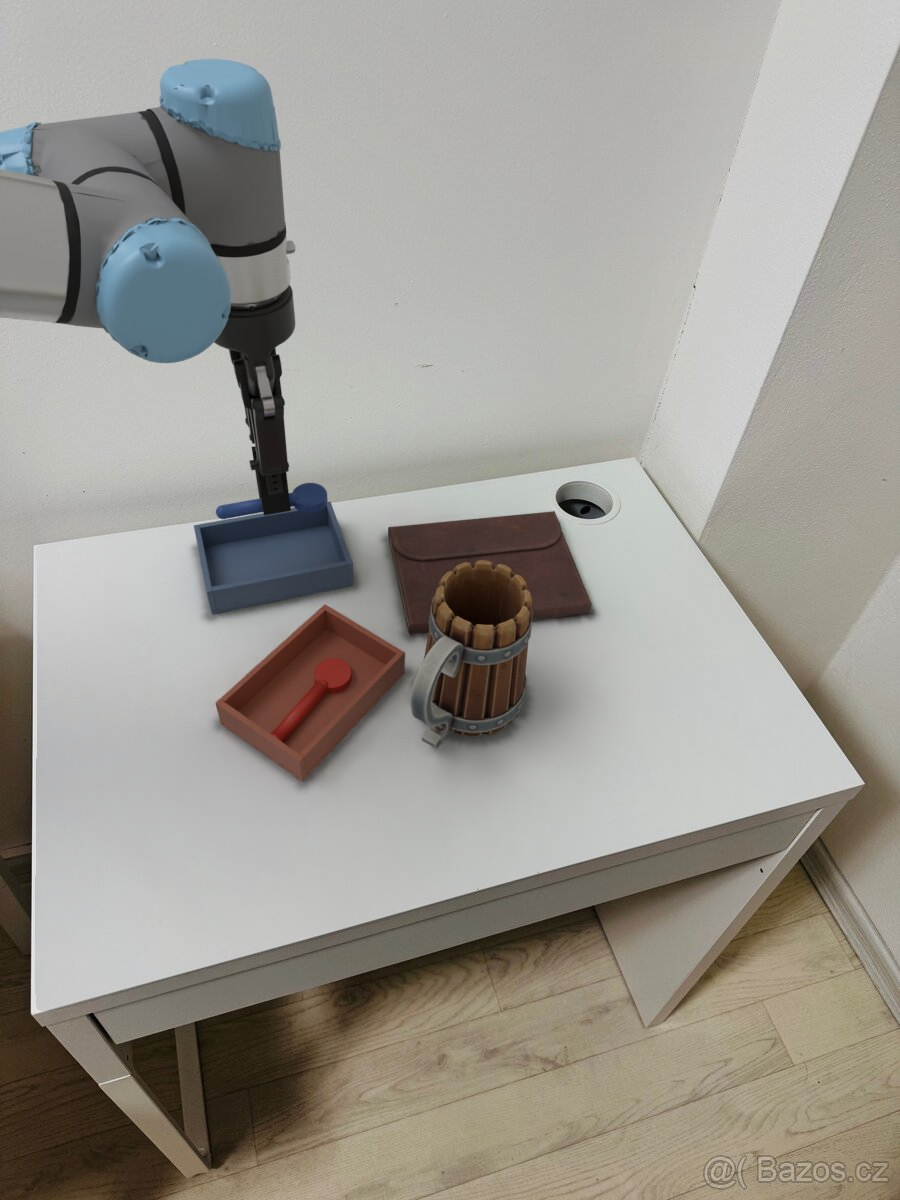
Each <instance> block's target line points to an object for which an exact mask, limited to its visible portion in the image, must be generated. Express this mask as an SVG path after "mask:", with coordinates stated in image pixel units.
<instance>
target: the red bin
mask: <svg viewBox="0 0 900 1200" xmlns="http://www.w3.org/2000/svg"><path fill="white" fill-rule="evenodd" d="M330 658H337V659H341V660H343V661H345V662H346V663H347V664H348V665H349V666H350V668H351V675H352V679H351V683H350V685H349V686H348V687H347V688H346V689H345V690H343V691H341V692H338V693H326V694H325V695H324V696H323V697H322V699H321V700H320V701H319V702H318V703H317V704H316V705H315V707H314V708H313V709H312V710H311V711H310V712H309V714H308V715H307V716H306V717H305V718H304V719H303V720H302V722H301V723H300V724H299V725H298V726H297V727H296V729H295V730H294V731H293V732H292V733H291V734H290V736H289V737H288V738H287V739H286V740H285V741H284V742H281V741H280V740H278V739H277V738H276V737H274V736H273V735H271V733H272V732H273V731H274V730H275V728H276V727H277V726H278V725H279V724H280V723H281V722H282V721H283V719H284V718H285V717H286V716H287V715H288V714H289V713H290V712H291V710H292V709H293V708H294V707H295V706H296V705H297V704H298V702H299V701H300V700H301V699H302V698H303V697H304V696H305V695H306V693H307V692H308V691H309V690H310V689H311V688H312V687H313V686H314V684H315V678H314V671H315V668H316V667H317V665H318V664H319V663H320V662H322V661H324V660H326V659H330ZM405 664H406V652H405V651H403V650H402V649H401V648H399V647H397V646H395V644H392V643H390V642H389V641H387V640H386V639H384V638H382V637H380V636H379V635H378V634H375V633H374V632H372V631H371V630H369V629H368V628H365V627H364V626H362V625H360V624H359V623H357V622H356V621H354V620H353V619H350V618H349V617H347V616H345V615H344V614H342V613H341V612H339V611H337V610H336V609H334V608H333V607H331V606H329V605H328V604H326V603H324V604H322V606H321V607H320V608H319V609H318V610H317V611H315V612H314V613H313V614H312V615H311V616H310V617H309V618H307V619H306V620H305V621H304V622H303V623H302V624H301V625H299V627H298V628H296V629H295V630H294V631H293V632H292V633H291V634H290V635H289V636H288V637H287V638H285V640H283V641H282V642H281V643H280V644H279V645H277V647H276V648H274V649H273V650H271V652H270V653H269V654H268V655H266V656H265V657H264V658H263V659H262V660H261V661H260V662H259V663H257V665H256V666H254V667H253V668H252V669H251V670H250V671H249V672H248V673H246V674H245V675H244V676H243V677H242V678H241V679H240V680H239V681H238V682H237V683H236V684H234V685H233V686H232V687H231V688H230V689H229V690H228V691H226V693H224V694H223V695H222V696H221V697H220V698H218V699H217V700H216V701H215V702H214V704H215V707H216V712H217V715H218V719H219V722H220V725H222V726H223V727H224V728H226V729H228V730H229V731H230V732H232V734H234V735H236V736H237V737H239V738H240V739H242V740H243V741H244V742H246V743H247V744H249V745H250V746H251V747H252V748H254V749H256V750H257V751H258V752H260V753H261V754H262V755H264V756H265V757H267V758H268V759H270V760H271V761H272V762H274V763H275V764H277V765H278V766H279V767H281V768H282V769H284V770H285V771H286V772H288V773H290V774H291V775H292V776H294V777H295V778H296V779H298V780H299V781H301V782H302V783H303V782H304V781H305V780H306V779H307V778H308V777H309V775H311V774H312V772H313V771H314V770H315V769H316V768H318V766H319V765H320V764H321V763H322V762H323V761H324V760H325V759H326V757H328V755H329V754H331V752H332V751H333V750H334V749H335V748H336V747H337V746H338V745H339V744H340V743H341V742H342V741H343V739H345V737H346V736H347V735H348V734H349V733H350V732H351V731H352V730H353V729H354V728H355V727H356V726H357V725H358V724H359V723H360V721H361V720H362V719H363V718H364V717H365V716H366V715H367V714H368V713H369V712H370V711H371V710H372V709H373V708H374V707H375V706H376V704H377V703H378V702H380V700H382V698H383V697H384V696H385V695H386V694H387V693H388V692H389V691H390V690H391V689H392V687H393V686H395V685H396V684H397V682H398V681H399V680H400V679H401V678H402V677H403V676H404V675H405V669H406V668H405V667H406V666H405Z"/></svg>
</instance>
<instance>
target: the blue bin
mask: <svg viewBox="0 0 900 1200" xmlns="http://www.w3.org/2000/svg"><path fill="white" fill-rule="evenodd" d="M193 529H194V535H195V540H196V545H197V550H198V556H199V561H200V565H201V570H202V576H203V581H204V587H205V591H206V596H207V600H208V604H209V608H210V613H211V615H215V614H219V613H224V612H231V611H235V610H239V609H245V608H249V607H255V606H260V605H265V604H269V603H275V602H279V601H283V600H284V601H285V600H289V599H294V598H299V597H304V596H309V595H314V594H318V593H323V592H329V591H333V590H334V591H335V590H339V589H343V588H349V587H354V567H353V565H354V564H353V561H352V558H351V554H350V552H349V549H348V547H347V544H346V541H345V538H344V535H343V533H342V529H341V527H340V523H339V521H338V519H337V515H336V512H335V510H334V507H333V504H332V501H328V502H327V505H326V506H325V507H324V508H323V509H322V510H320V511H318V512H315V513H303V512H300V511H298V510H297V509H296V508H295V507H291V511H287V512H282V513H276V514H270V515H265V516H264V513H263V512H260V513H255V514H249V515H244V516H238V517H233V518H227V519H221V520H215V521H210V522H204V523H199V524H194V525H193Z"/></svg>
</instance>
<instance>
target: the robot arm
mask: <svg viewBox="0 0 900 1200" xmlns="http://www.w3.org/2000/svg"><path fill="white" fill-rule="evenodd" d="M159 90H160V95H159V99H158V101H159V104H160V105H159V106H157V107H152V108H147V109H145V110H140V111H133V112H127V113H126V112H125V113H118V114H111V115H103V116H95V117H87V118H86V117H85V118H79V119H71V120H63V121H56V122H47V123H41V122H37V121H35V122H30V124H28V125H26V126H20V127H16V128H11V129H7V130H3V131H0V319H1V318H2V319H12V320H22V321H31V322H33V321H34V322H43V323H52V324H53V323H54V324H59V325H60V324H62V325H68V326H74V327H82V328H83V327H84V328H94V329H103V331H105V332H106V333H107V334H109V336H110V337H111V339H112V340H113V341H114V342H116V343H118V344H119V345H120V346H121V347H122V348H123V349H124V350H126V351H127V352H128V353H130V354H132V355H134V356H136V357H138V358H140V359H142V360H144V361H146V362H147V361H148V362H150V363H156V364H174V363H180V362H184V361H187V360H190V359H192V358H195V357H196V356H199V355H200V354H202V353H204V352H205V351H206V350H207V349H209V348H210V347H211V346H212V345H213V344H216V345H217V346H219V347H221V348H222V349H226V350H228V353H229V357H230V361H231V364H232V365H233V371H234V374H235V375H234V376H235V379H236V383H237V386H238V388H239V389H240V390H239V391H240V396H241V400H242V403H243V408H244V414H245V418H244V421H245V425H246V426H247V428H248V429H249V435H248V438H249V441H250V442H251V444H254V446H251V453H252V459H250V460H249V467H250V470H251V471H254V472H255V479H256V485H257V492H258V496H259V497H258V499H259V498H261V502H262V508H263V512H262V513H264V516H265V515H270V514H276V513H282V512H287V511H291V508H292V507H290V499H289V493H290V491H289V483H288V475H287V473H288V472H289V471H290V469H289V468H290V463H289V461H288V450H287V449H288V448H287V438H286V425H285V405H286V401H285V399H284V397H283V393H282V383H281V377H282V375H283V369H282V368H283V367H282V361H281V357H280V354H278V353H277V347H278V346H280V345H282V344H284V343H285V342H286V341H288V339H290V337H291V336H292V335H293V334H294V332H295V329H296V314H295V313H296V312H295V303H294V302H295V301H294V291H293V288H292V286H291V277H292V276H291V267H290V260H289V257H288V256H287V255H292V254H295V252H296V244H295V243H294V241H293V240H288V238H287V225H286V224H287V222H286V217H285V216H286V215H285V203H284V187H283V175H282V174H283V173H282V162H281V149H282V144H281V143H282V142H281V139H280V135H279V127H278V121H277V120H278V119H277V113H276V108H275V104H274V98H273V92H272V88H271V85H270V83H269V82H268V80H267V79H266V77H265V76H264V75H263V74H262V73H261V72H260V71H258V70H257V69H255V68H254V67H253V66H251V65H249V64H246V63H243V62H239V61H236V60H230V59H222V58H221V59H220V58H202V59H201V58H200V59H192V60H187V61H185V62H184V63H182V64H174V65H172V66H170V67H168V68H167V69H166V70H164V72H163V73H162V75H161V77H160V80H159Z"/></svg>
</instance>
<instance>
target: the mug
mask: <svg viewBox="0 0 900 1200" xmlns="http://www.w3.org/2000/svg"><path fill="white" fill-rule="evenodd" d="M532 617H533V612H532V597H531V594H530V592H529V591H528V587H527V584H526V582H525V581H524V579H523V578H522V577H521V576H520V575H517V574H516V575H515V576H514V573H513V571H512V570H511V569H510V568H509V567H507V566H505V565H503V564H498V565H497V566H496V567H494V566H493V564H492V563H491V562H490V561H485V560H479V561H477V562H476V563H475V564H474V565H473V566H472V565H471V564H470V563H467V562H465V563H462V564H459V565H457V566H456V567H455V568H454V569H453V572H452V571H449V572H447V573H446V574H445V575H444V576H443V577H442V579H441V581H440V582H439V585H438V588H437V589H436V594H435V596H434V598H433V601H432V606H431V611H430V616H429V632H427V633H428V634H427V638H426V639H427V640H426V644H425V645H426V646H425V651H424V655H423V660H422V661H421V663H420V666H419V669H418V671H417V673H416V676H415V679H414V681H413V685H412V689H411V694H410V709H411V714H412V716H413V717H414V718H415V719H417V720H419V722H422V723H424V724H426V725H428V726H429V727H430V728H426V729H425V731H424V733H423V734H422V735H421V741H422V742H423V743H425V744H427V745H429V746H431V747H432V748H435V749H438V748H440V747H441V746H442V744H443V743H444V742H445V740H446V739H447V737H448V735H449V733H452V734H458V735H460V736H463V737H472V738H473V737H482V736H485V735H488V736H490V735H493V734H496V733H499V732H501V731H502V730H504V729H505V728H507V725H508V724H511V723H513V722H514V721H515V720H516V718H517V717H518V715H519V713H520V712H521V710H522V707H523V705H524V703H525V700H526V689H527V680H528V678H527V673H526V672H527V661H528V652H529V651H528V650H529V641H530V639H531V636H532V627H533V626H532V625H533V620H532Z"/></svg>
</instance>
